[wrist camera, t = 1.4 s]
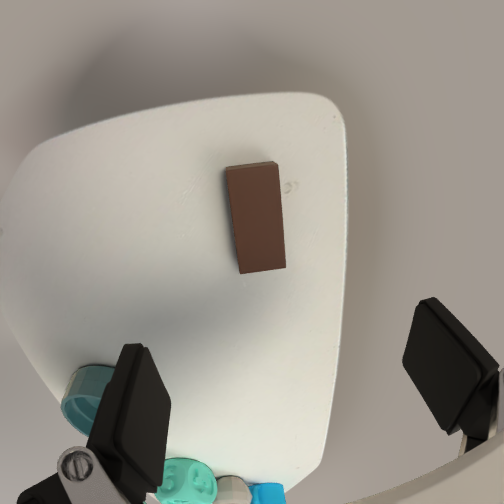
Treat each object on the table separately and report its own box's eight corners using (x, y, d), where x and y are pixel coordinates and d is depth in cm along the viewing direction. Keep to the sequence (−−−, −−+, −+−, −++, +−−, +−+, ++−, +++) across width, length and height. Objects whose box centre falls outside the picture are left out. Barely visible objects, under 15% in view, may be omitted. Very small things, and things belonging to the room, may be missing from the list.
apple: (231, 468, 41) (234, 500, 35) (258, 478, 44) (262, 506, 38) (199, 478, 42) (199, 506, 36) (227, 487, 45) (229, 513, 39)
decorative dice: (183, 476, 42) (182, 511, 34) (152, 461, 38) (149, 500, 31) (217, 469, 40) (219, 507, 33) (187, 454, 37) (186, 496, 30)
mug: (286, 489, 48) (292, 519, 41) (251, 495, 49) (255, 525, 41) (272, 475, 43) (278, 510, 36) (232, 482, 44) (234, 516, 36)
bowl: (60, 384, 29) (48, 412, 25) (99, 347, 27) (85, 380, 22) (129, 428, 34) (123, 456, 29) (179, 401, 31) (176, 435, 27)
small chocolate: (225, 166, 21) (225, 170, 19) (273, 161, 21) (278, 164, 19) (238, 264, 24) (239, 274, 23) (282, 258, 24) (286, 268, 23)
